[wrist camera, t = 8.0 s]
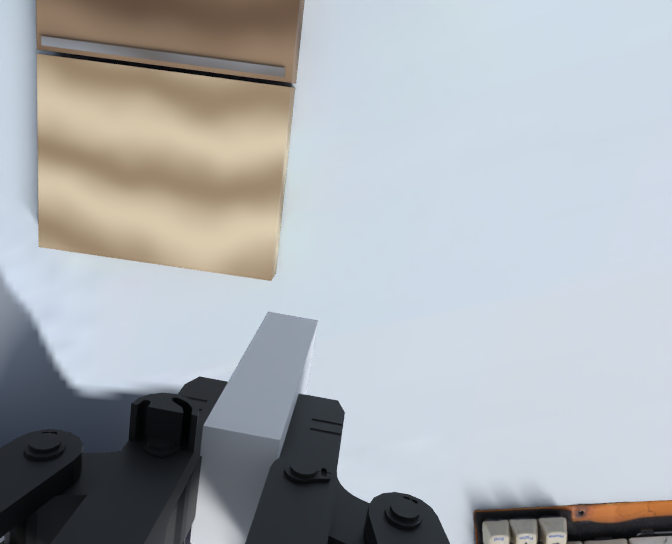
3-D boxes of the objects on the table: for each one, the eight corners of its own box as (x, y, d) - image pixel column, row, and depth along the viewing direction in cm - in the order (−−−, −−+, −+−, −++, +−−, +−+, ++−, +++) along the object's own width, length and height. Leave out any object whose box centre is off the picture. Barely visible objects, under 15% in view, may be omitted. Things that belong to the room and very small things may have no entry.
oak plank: (51, 55, 44) (36, 53, 43) (295, 87, 44) (290, 87, 42) (52, 241, 48) (38, 246, 46) (275, 273, 48) (271, 280, 46)
